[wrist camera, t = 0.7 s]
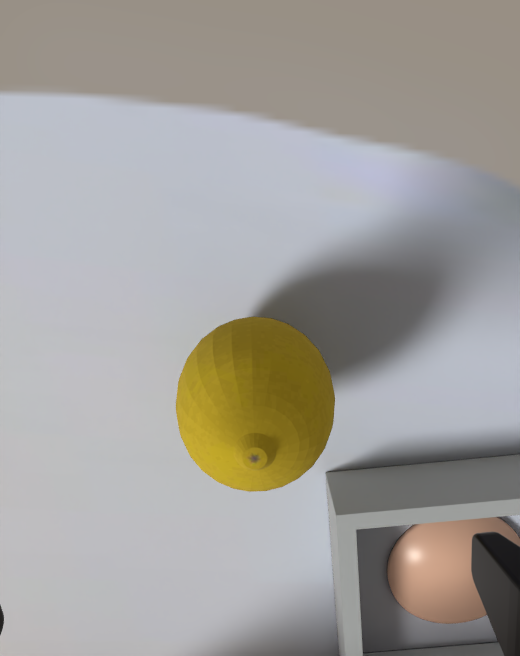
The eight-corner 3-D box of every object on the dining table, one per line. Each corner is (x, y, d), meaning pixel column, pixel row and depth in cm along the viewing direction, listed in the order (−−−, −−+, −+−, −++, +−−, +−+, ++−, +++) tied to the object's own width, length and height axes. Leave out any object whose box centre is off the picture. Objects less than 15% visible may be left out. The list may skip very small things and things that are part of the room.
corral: (567, 647, 25) (608, 707, 22) (339, 666, 25) (350, 727, 22) (591, 447, 21) (643, 487, 18) (325, 472, 21) (336, 515, 18)
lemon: (322, 298, 19) (365, 366, 11) (314, 415, 20) (347, 545, 13) (192, 295, 19) (147, 362, 11) (194, 412, 20) (156, 542, 13)
